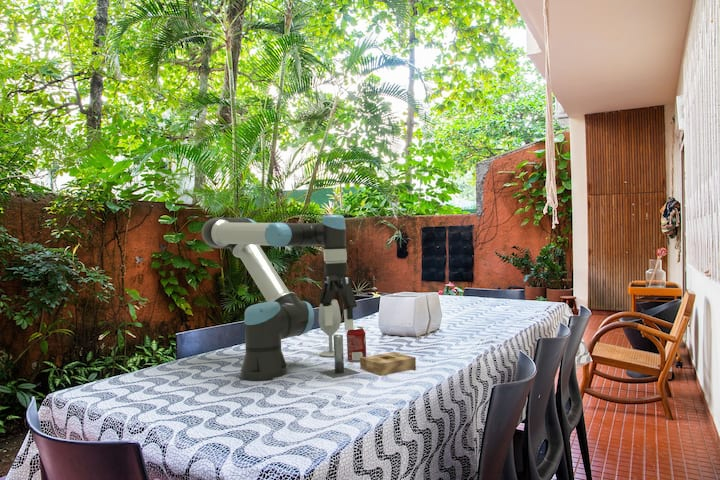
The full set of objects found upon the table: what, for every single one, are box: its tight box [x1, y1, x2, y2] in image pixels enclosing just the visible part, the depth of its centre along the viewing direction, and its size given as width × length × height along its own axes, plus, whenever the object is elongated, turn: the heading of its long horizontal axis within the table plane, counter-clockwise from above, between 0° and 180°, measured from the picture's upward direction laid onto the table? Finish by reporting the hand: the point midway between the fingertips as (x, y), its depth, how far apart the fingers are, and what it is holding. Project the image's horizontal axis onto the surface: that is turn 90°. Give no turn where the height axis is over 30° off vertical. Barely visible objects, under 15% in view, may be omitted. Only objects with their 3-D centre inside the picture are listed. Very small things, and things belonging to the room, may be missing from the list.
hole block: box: [359, 351, 417, 376], centre depth 167 cm, size 14×12×4 cm
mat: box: [318, 367, 361, 379], centre depth 164 cm, size 10×10×1 cm
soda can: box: [346, 326, 367, 363], centre depth 181 cm, size 7×7×12 cm
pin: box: [333, 334, 345, 374], centre depth 164 cm, size 3×3×12 cm
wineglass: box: [318, 299, 342, 358], centre depth 194 cm, size 9×9×21 cm
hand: (338, 327), depth 164 cm, fingers open, 13 cm apart
